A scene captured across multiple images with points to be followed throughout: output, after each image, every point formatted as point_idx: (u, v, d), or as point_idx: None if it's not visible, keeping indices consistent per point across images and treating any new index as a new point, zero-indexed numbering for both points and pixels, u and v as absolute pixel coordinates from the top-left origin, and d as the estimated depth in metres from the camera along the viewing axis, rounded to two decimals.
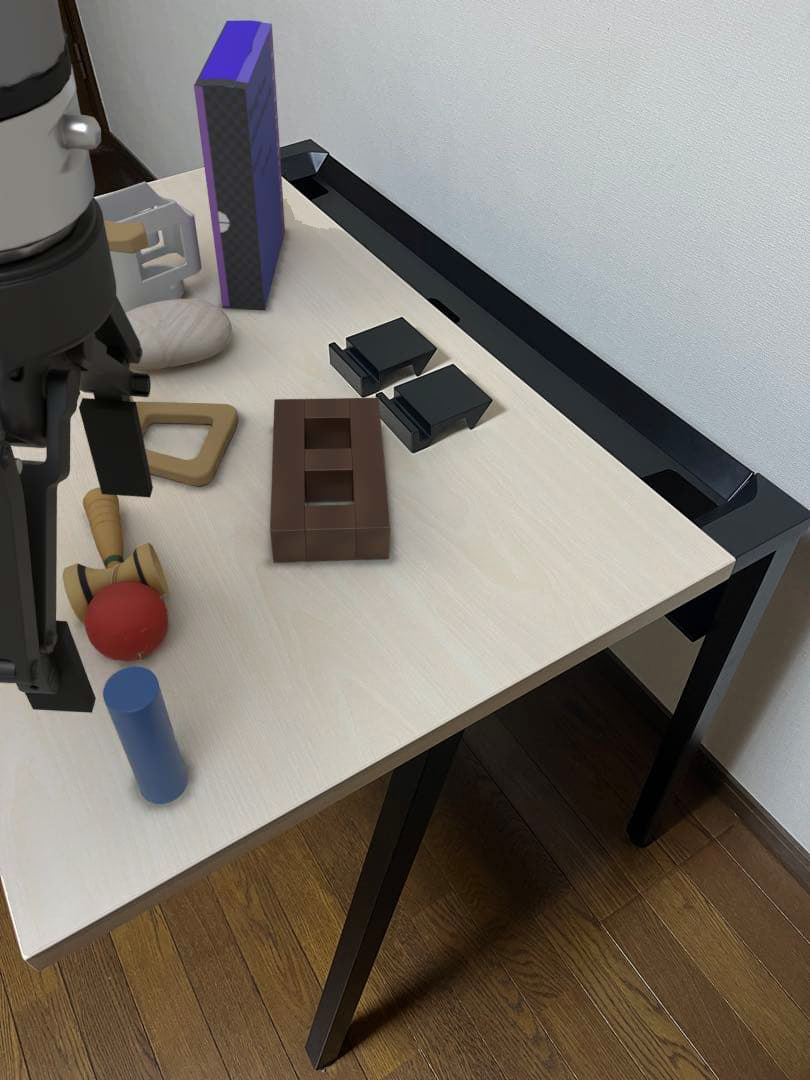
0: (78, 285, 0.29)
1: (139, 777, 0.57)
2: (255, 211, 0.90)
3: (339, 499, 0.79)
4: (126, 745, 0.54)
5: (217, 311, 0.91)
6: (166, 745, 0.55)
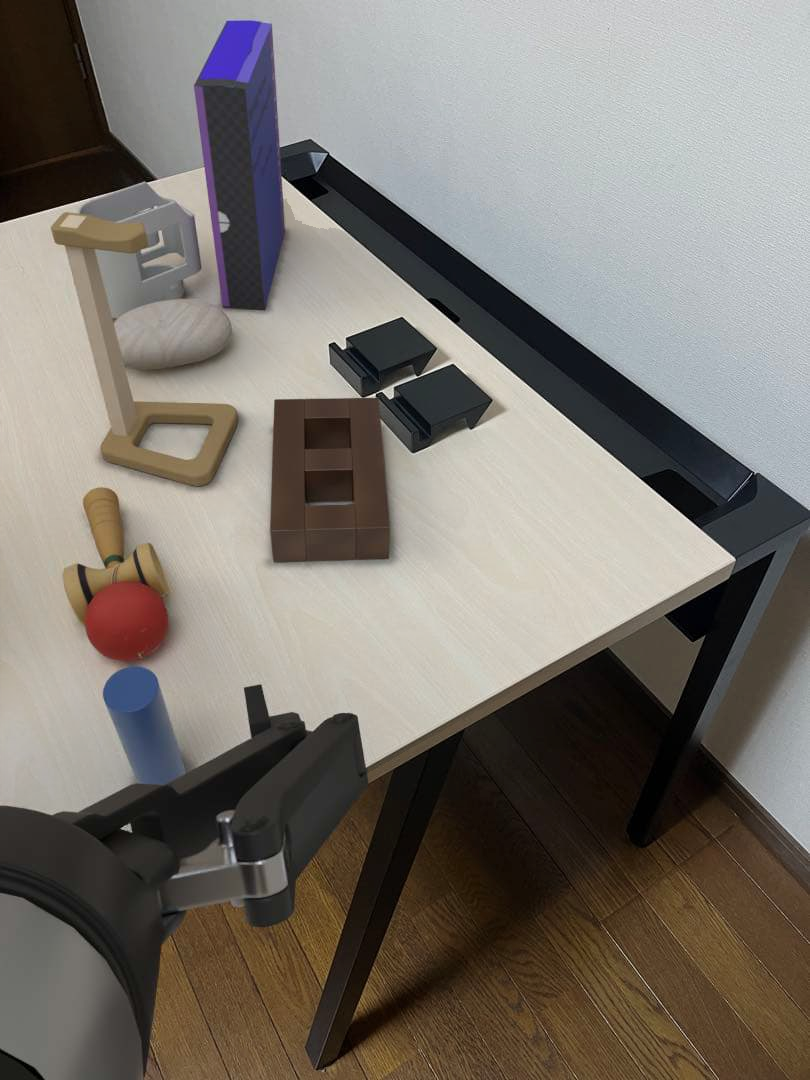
0: None
1: (139, 777, 0.57)
2: (255, 211, 0.90)
3: (339, 499, 0.79)
4: (126, 745, 0.54)
5: (217, 311, 0.91)
6: (166, 745, 0.55)
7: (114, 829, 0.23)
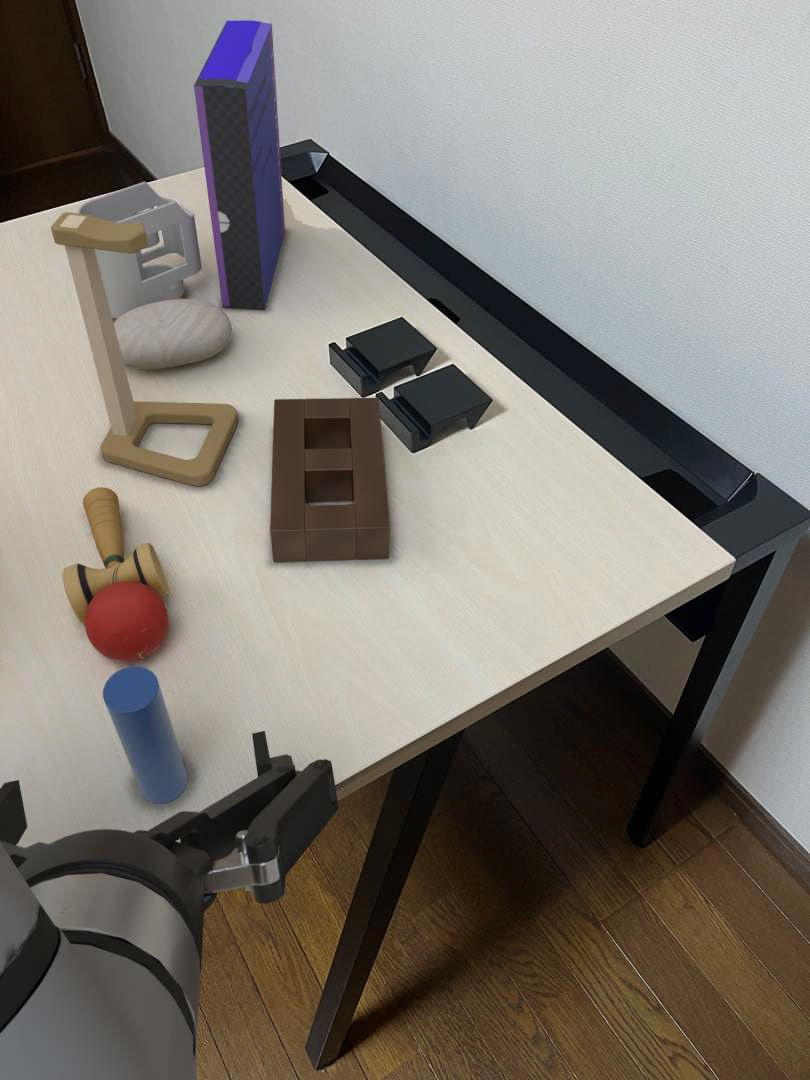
0: None
1: (139, 777, 0.57)
2: (255, 211, 0.90)
3: (339, 499, 0.79)
4: (126, 745, 0.54)
5: (217, 311, 0.91)
6: (166, 745, 0.55)
7: (172, 842, 0.36)
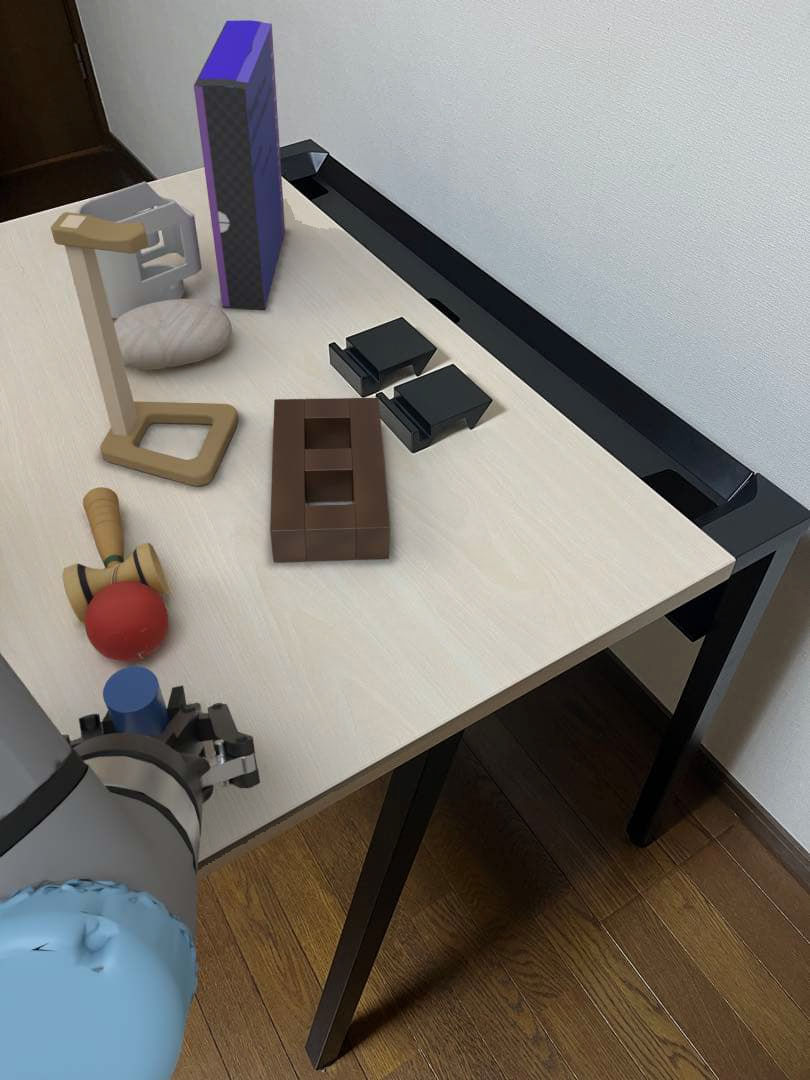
0: None
1: None
2: (255, 211, 0.90)
3: (339, 499, 0.79)
4: None
5: (217, 311, 0.91)
6: None
7: None
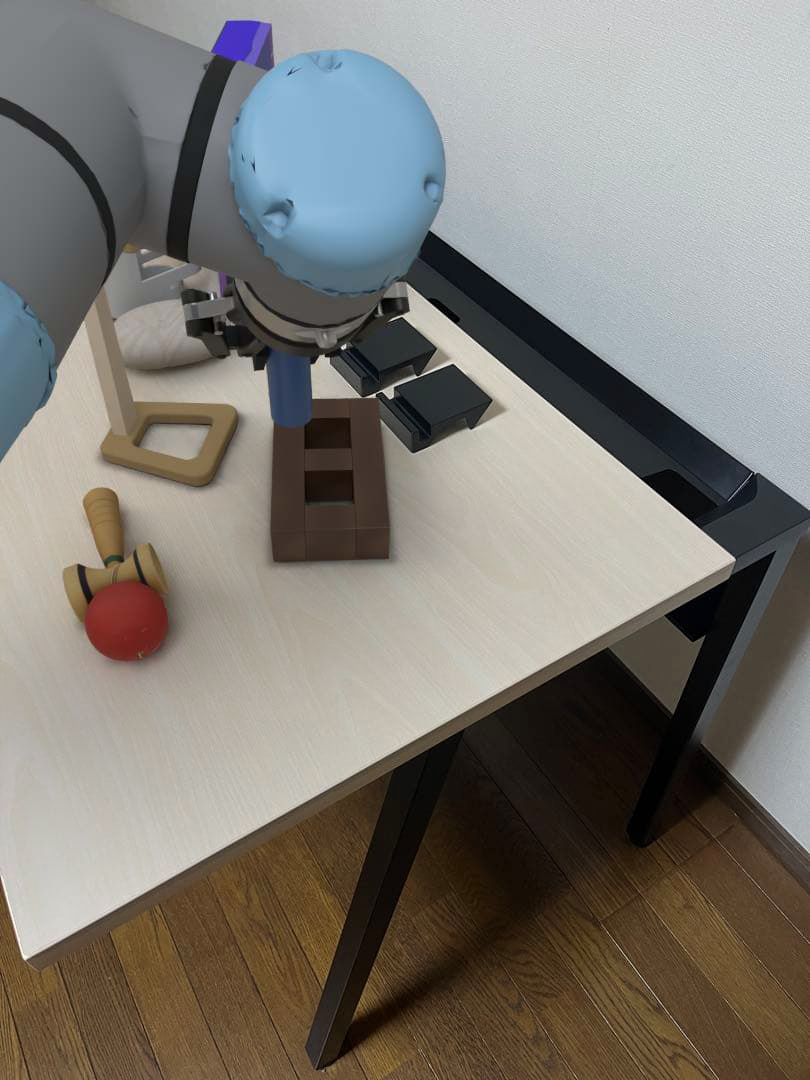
0: (281, 346, 0.45)
1: (277, 389, 0.63)
2: None
3: (339, 499, 0.79)
4: None
5: None
6: None
7: None
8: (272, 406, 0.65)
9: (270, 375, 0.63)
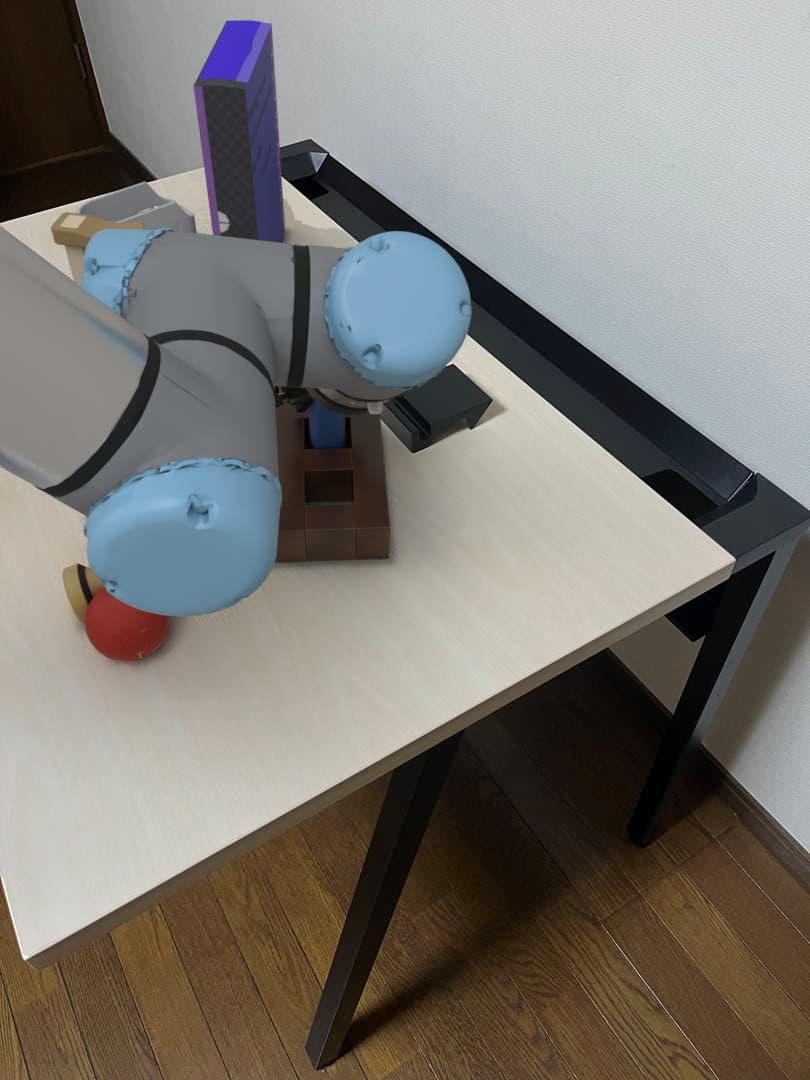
0: (337, 408, 0.59)
1: (317, 429, 0.77)
2: (255, 211, 0.90)
3: (339, 499, 0.79)
4: None
5: None
6: None
7: None
8: (312, 442, 0.79)
9: (312, 418, 0.76)
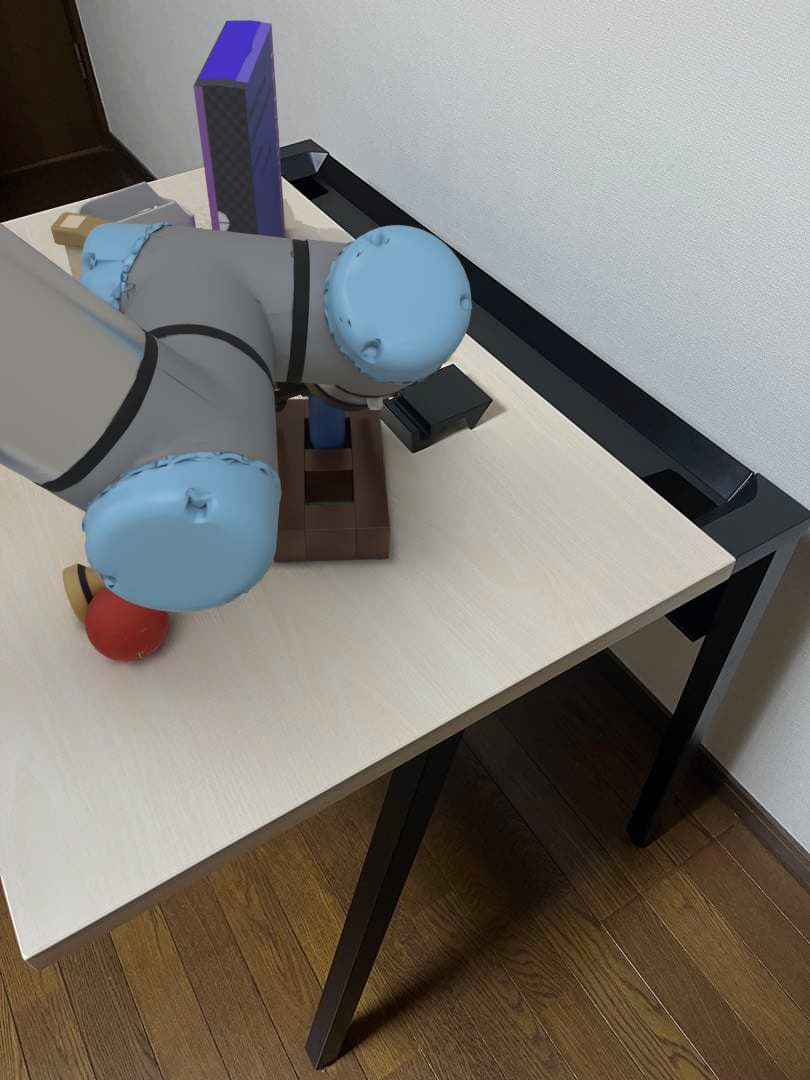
0: (337, 404, 0.59)
1: (318, 447, 0.79)
2: (255, 211, 0.90)
3: (339, 499, 0.79)
4: (316, 411, 0.75)
5: None
6: (342, 416, 0.77)
7: None
8: None
9: (313, 436, 0.78)
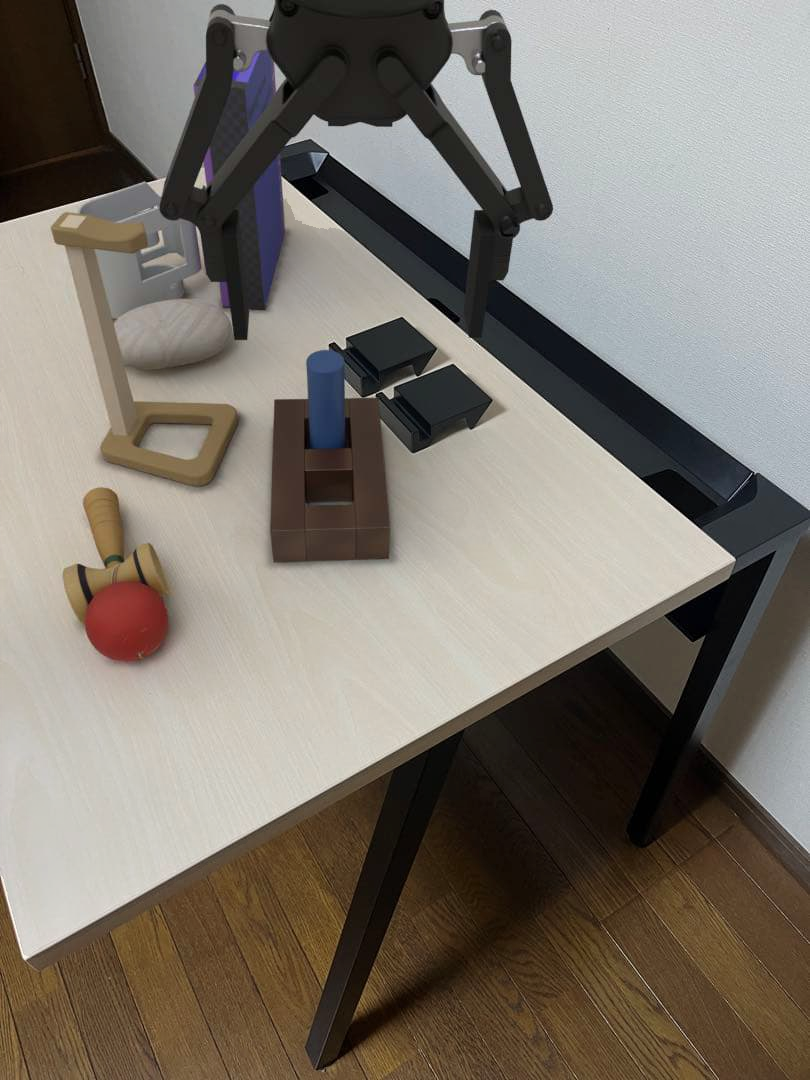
0: None
1: (318, 447, 0.79)
2: (255, 211, 0.90)
3: (339, 499, 0.79)
4: (316, 411, 0.75)
5: (217, 311, 0.91)
6: (342, 416, 0.77)
7: None
8: None
9: (313, 436, 0.78)
